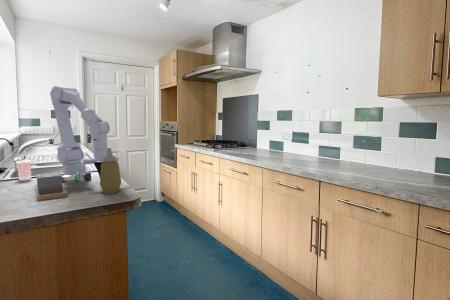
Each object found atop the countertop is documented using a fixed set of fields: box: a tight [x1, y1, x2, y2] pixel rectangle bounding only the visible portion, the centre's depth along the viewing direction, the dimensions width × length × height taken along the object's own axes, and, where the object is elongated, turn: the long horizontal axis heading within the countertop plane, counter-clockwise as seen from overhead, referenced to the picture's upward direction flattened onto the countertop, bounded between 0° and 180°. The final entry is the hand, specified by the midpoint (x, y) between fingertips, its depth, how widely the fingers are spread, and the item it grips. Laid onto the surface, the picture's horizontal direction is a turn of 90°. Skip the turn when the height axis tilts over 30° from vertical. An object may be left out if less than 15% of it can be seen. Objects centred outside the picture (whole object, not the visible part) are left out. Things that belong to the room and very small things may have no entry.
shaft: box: [62, 171, 92, 185], centre depth 113 cm, size 15×5×5 cm, turn 127°
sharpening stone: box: [35, 172, 69, 202], centre depth 109 cm, size 10×22×7 cm, turn 37°
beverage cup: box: [15, 150, 32, 181], centre depth 133 cm, size 6×6×14 cm
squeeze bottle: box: [99, 147, 122, 194], centre depth 109 cm, size 8×8×18 cm
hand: (102, 178), depth 121 cm, fingers closed
